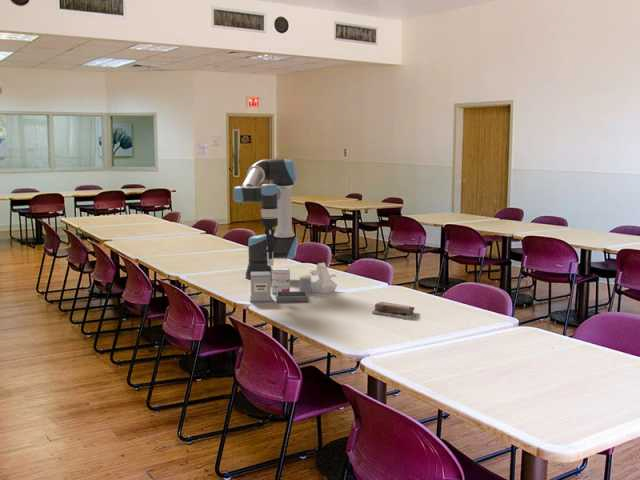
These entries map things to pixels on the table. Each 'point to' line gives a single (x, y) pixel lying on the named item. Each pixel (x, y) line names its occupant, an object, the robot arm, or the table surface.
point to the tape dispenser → (323, 280)
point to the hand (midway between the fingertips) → (270, 262)
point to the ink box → (280, 280)
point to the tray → (292, 296)
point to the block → (305, 283)
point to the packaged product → (395, 310)
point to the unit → (260, 287)
